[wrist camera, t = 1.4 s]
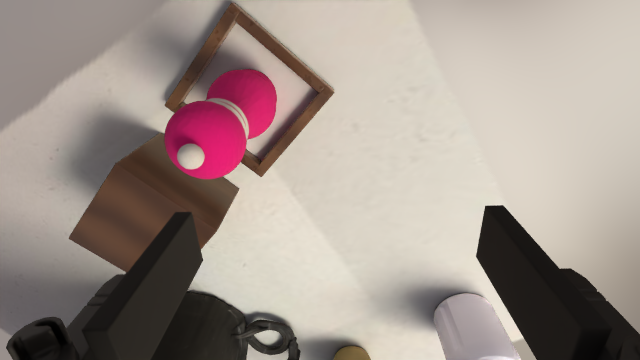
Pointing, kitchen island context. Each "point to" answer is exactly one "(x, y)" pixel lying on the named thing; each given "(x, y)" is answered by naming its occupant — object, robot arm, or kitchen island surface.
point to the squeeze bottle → (351, 354)
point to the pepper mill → (221, 124)
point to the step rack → (168, 180)
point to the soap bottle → (472, 330)
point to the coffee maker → (217, 333)
